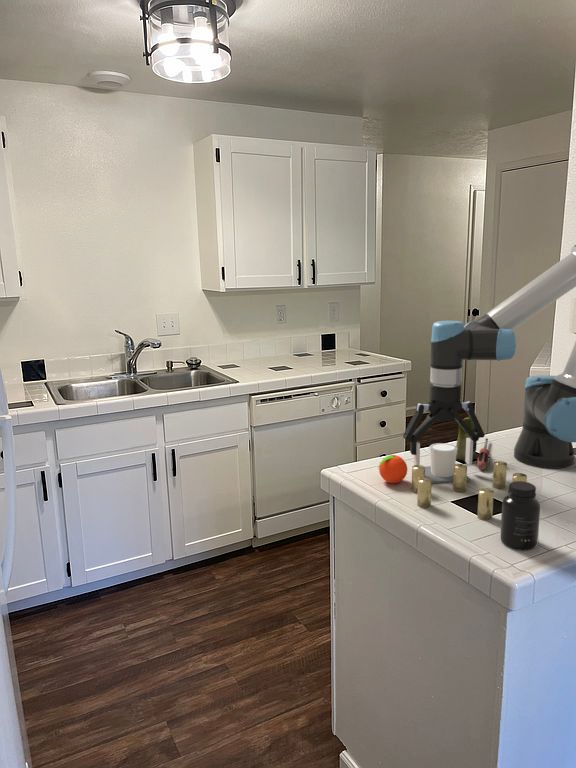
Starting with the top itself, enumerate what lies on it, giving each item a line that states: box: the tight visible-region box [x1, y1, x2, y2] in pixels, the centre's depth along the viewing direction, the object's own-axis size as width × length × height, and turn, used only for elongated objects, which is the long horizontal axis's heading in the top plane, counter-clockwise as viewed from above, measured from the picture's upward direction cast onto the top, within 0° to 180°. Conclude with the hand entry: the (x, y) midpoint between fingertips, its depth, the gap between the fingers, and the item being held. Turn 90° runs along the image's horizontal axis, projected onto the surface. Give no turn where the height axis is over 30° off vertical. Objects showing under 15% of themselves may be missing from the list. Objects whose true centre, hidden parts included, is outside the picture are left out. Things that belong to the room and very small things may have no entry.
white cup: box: [429, 442, 457, 477], centre depth 147 cm, size 7×7×7 cm
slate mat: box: [424, 465, 471, 485], centre depth 148 cm, size 11×10×1 cm
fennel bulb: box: [455, 417, 477, 462], centre depth 157 cm, size 6×5×12 cm
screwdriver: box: [476, 438, 490, 471], centre depth 161 cm, size 25×3×3 cm, turn 158°
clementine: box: [377, 454, 408, 484], centre depth 143 cm, size 8×7×7 cm
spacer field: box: [411, 460, 528, 521], centre depth 131 cm, size 25×18×6 cm
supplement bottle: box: [500, 481, 541, 551], centre depth 112 cm, size 7×7×12 cm
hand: (442, 465), depth 147 cm, fingers open, 13 cm apart
